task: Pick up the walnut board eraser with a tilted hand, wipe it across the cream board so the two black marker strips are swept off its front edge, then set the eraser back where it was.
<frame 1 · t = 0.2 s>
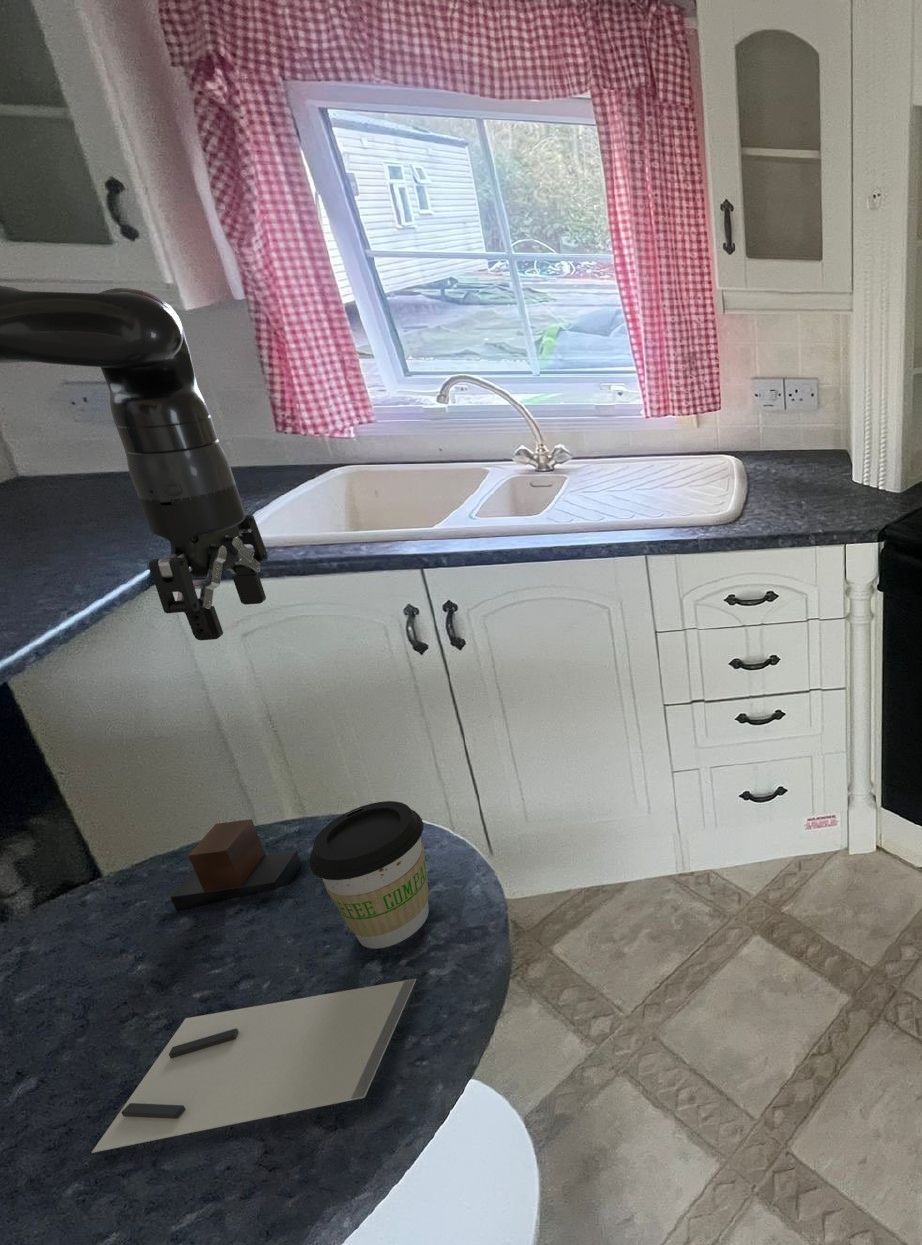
hand: (233, 619, 87), 32 cm above the countertop, tool pointing down, fingers open, 8 cm apart
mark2: (154, 1113, 67), point 1 cm above the countertop, touching board
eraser: (242, 888, 91), on the countertop
mark1: (205, 1045, 73), point 1 cm above the countertop, touching board
board: (275, 1066, 73), on the countertop
coffee cup: (397, 933, 87), on the countertop
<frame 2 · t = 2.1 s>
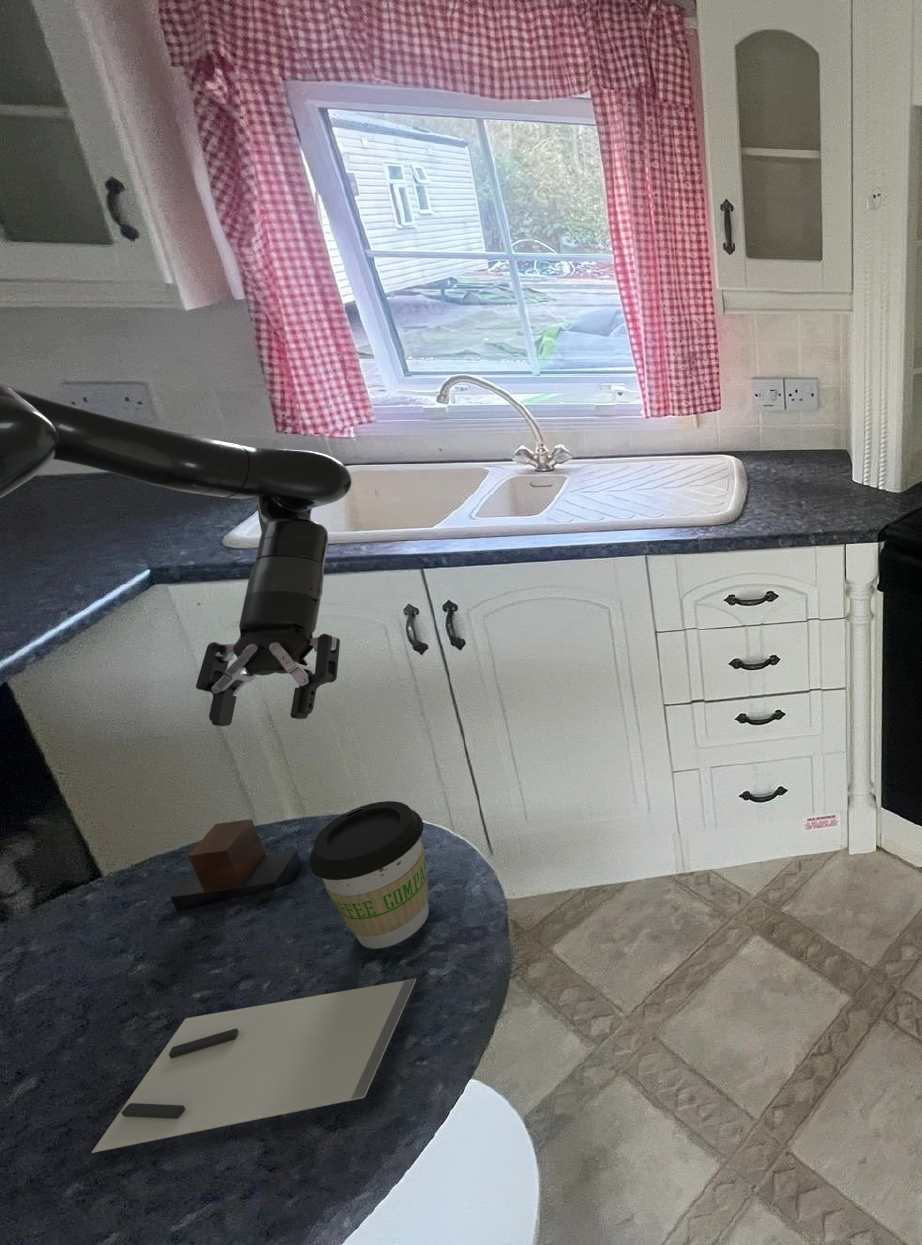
hand: (260, 721, 95), 16 cm above the countertop, tool tilted 45°, fingers open, 8 cm apart
nothing on the countertop moved.
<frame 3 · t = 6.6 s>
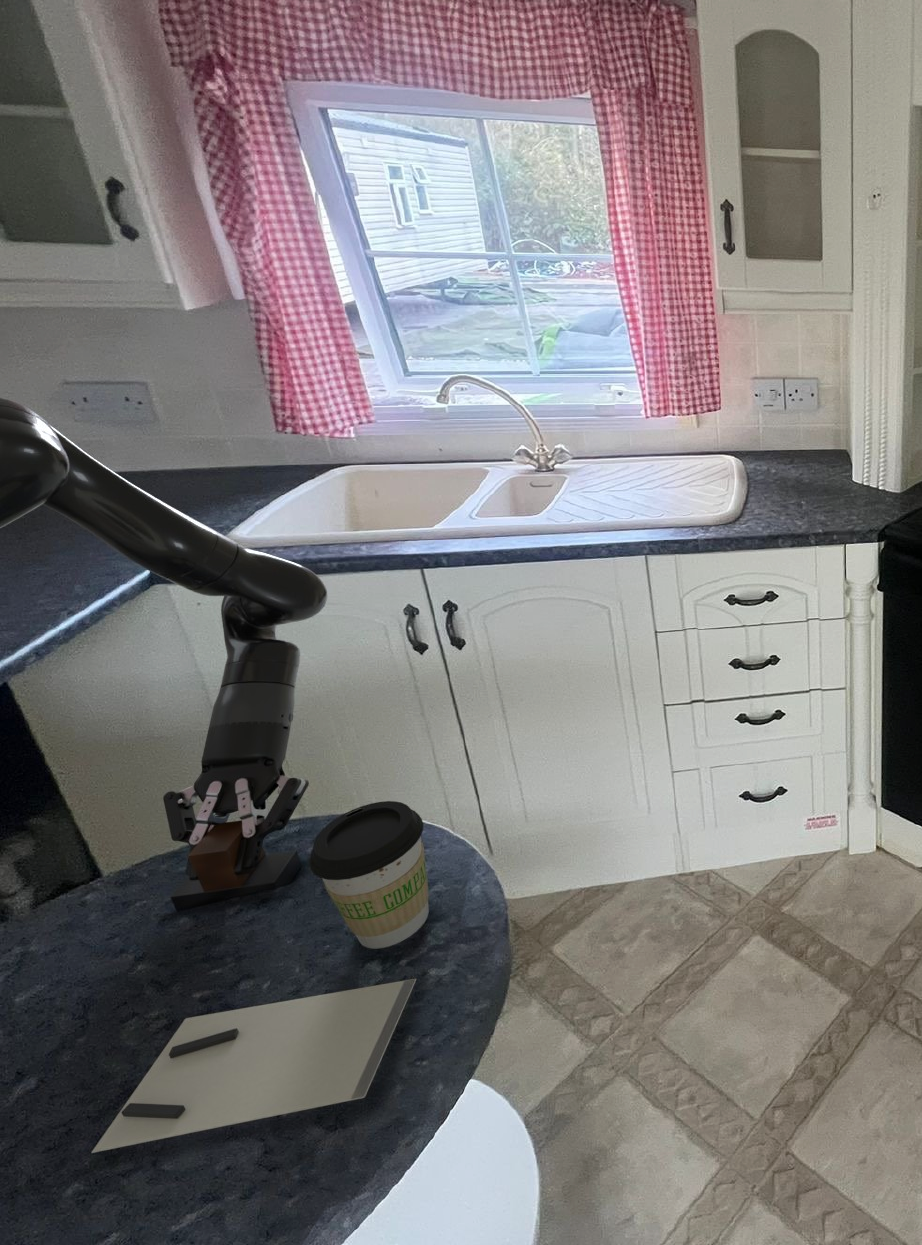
hand: (221, 875, 88), 4 cm above the countertop, tool tilted 45°, fingers closed on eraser, 3 cm apart
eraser: (242, 888, 91), on the countertop, touching gripper
everything else where it was.
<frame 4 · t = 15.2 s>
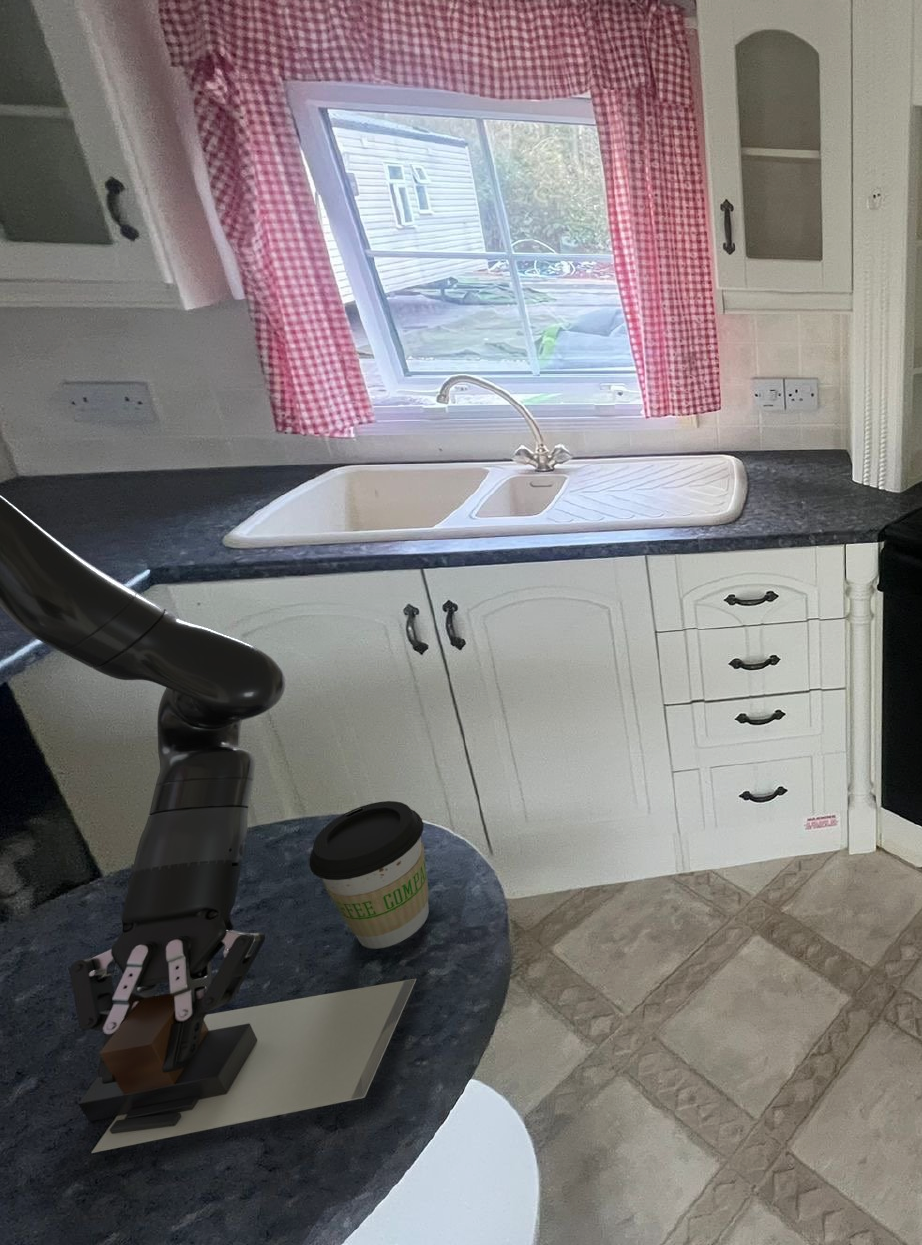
hand: (146, 1074, 67), 5 cm above the countertop, tool tilted 45°, fingers closed on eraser, 3 cm apart
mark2: (147, 1125, 67), point 1 cm above the countertop, touching board, mark1
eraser: (177, 1079, 70), point 2 cm above the countertop, touching gripper
mark1: (162, 1111, 68), point 2 cm above the countertop, touching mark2
everything else where it was.
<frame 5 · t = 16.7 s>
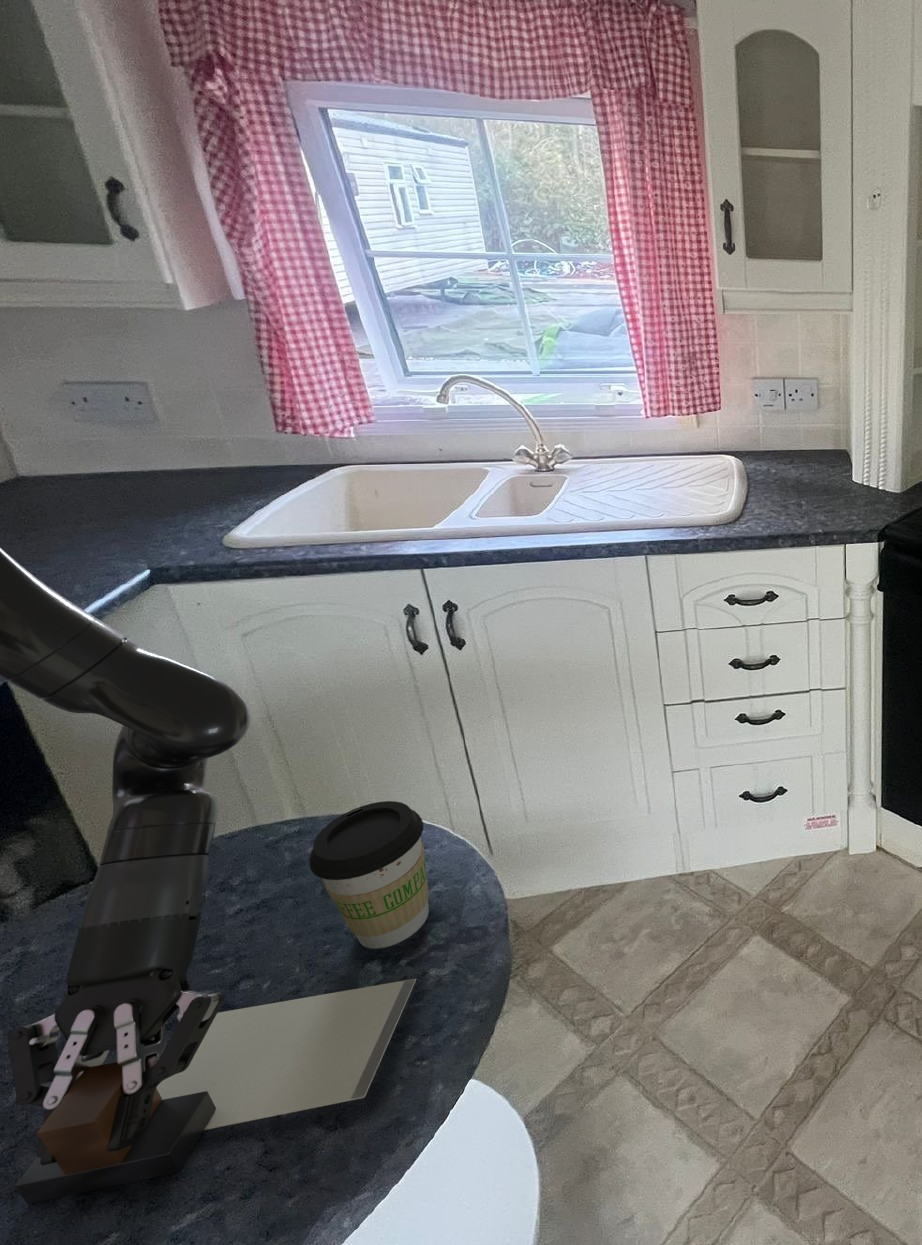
hand: (90, 1152, 61), 5 cm above the countertop, tool tilted 45°, fingers closed on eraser, 3 cm apart
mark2: (124, 1174, 64), point 1 cm above the countertop, tilted 180°
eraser: (127, 1154, 64), point 2 cm above the countertop, touching gripper
mark1: (121, 1187, 63), point 1 cm above the countertop, tilted 180°
everything else where it was.
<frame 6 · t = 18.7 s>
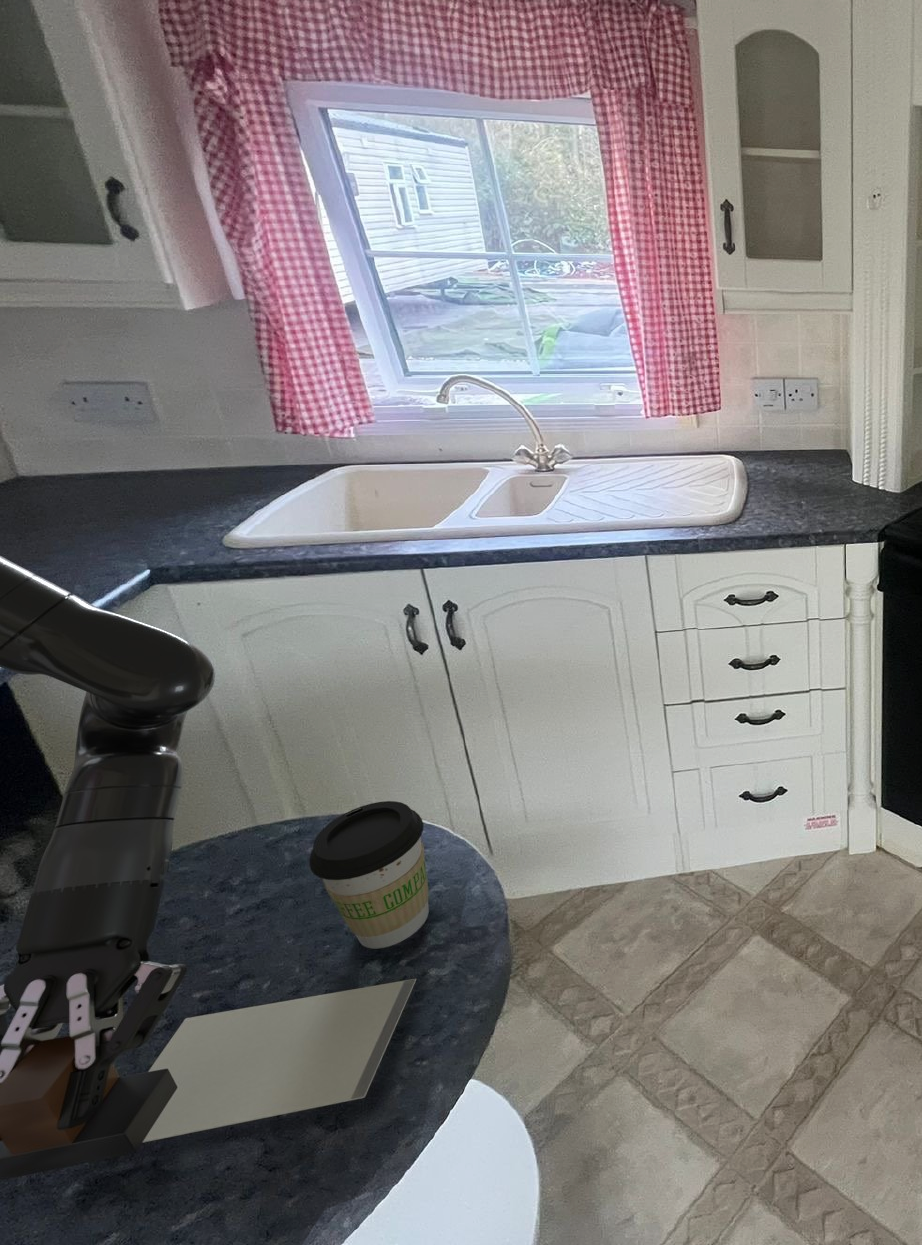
hand: (38, 1131, 57), 11 cm above the countertop, tool tilted 45°, fingers closed on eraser, 3 cm apart
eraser: (80, 1134, 61), point 7 cm above the countertop, touching gripper
everything else where it was.
when the fingers open (4 cm above the countertop, at t = 27.0 s): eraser stays where it is, on the countertop.
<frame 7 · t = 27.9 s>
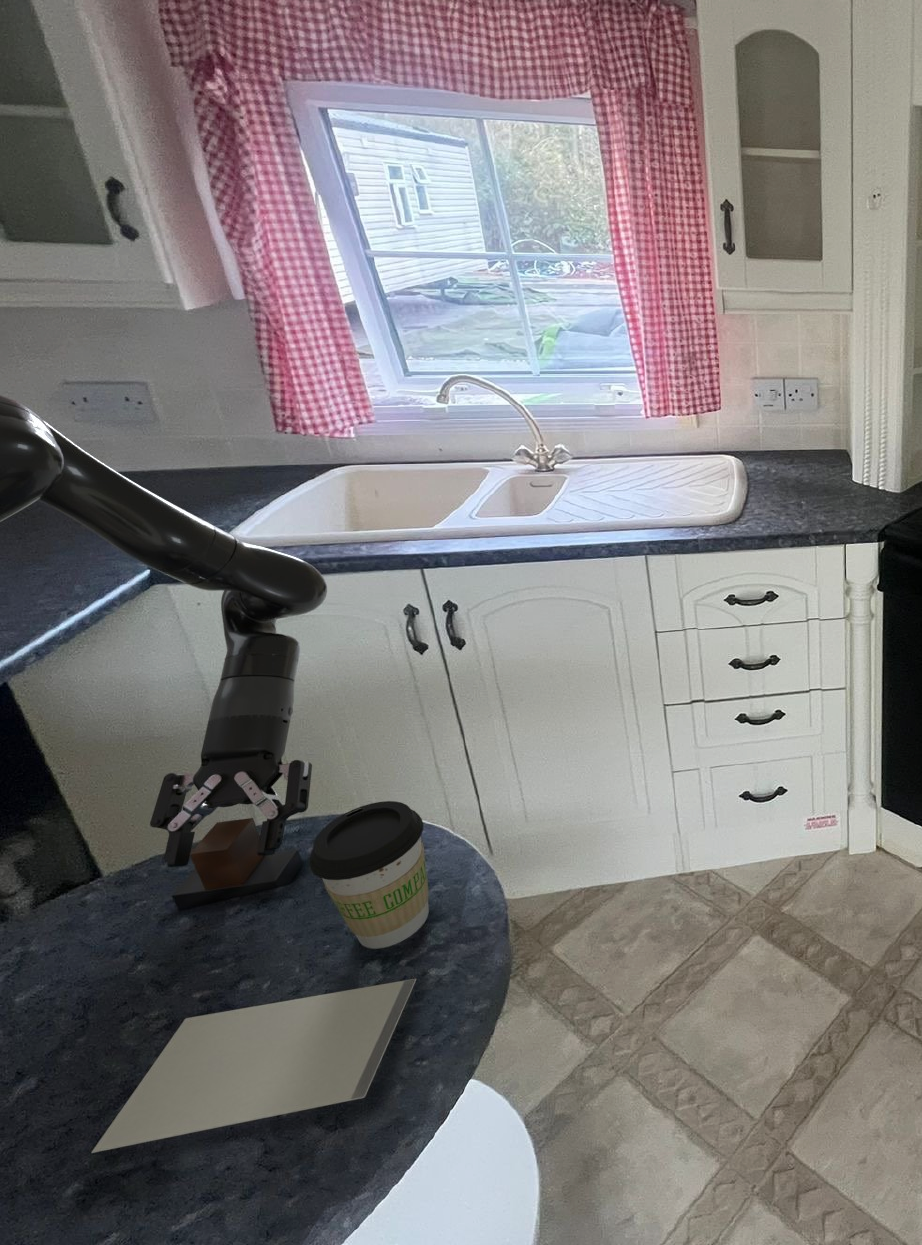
hand: (222, 860, 88), 5 cm above the countertop, tool tilted 45°, fingers open, 8 cm apart
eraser: (243, 887, 91), on the countertop
everything else where it was.
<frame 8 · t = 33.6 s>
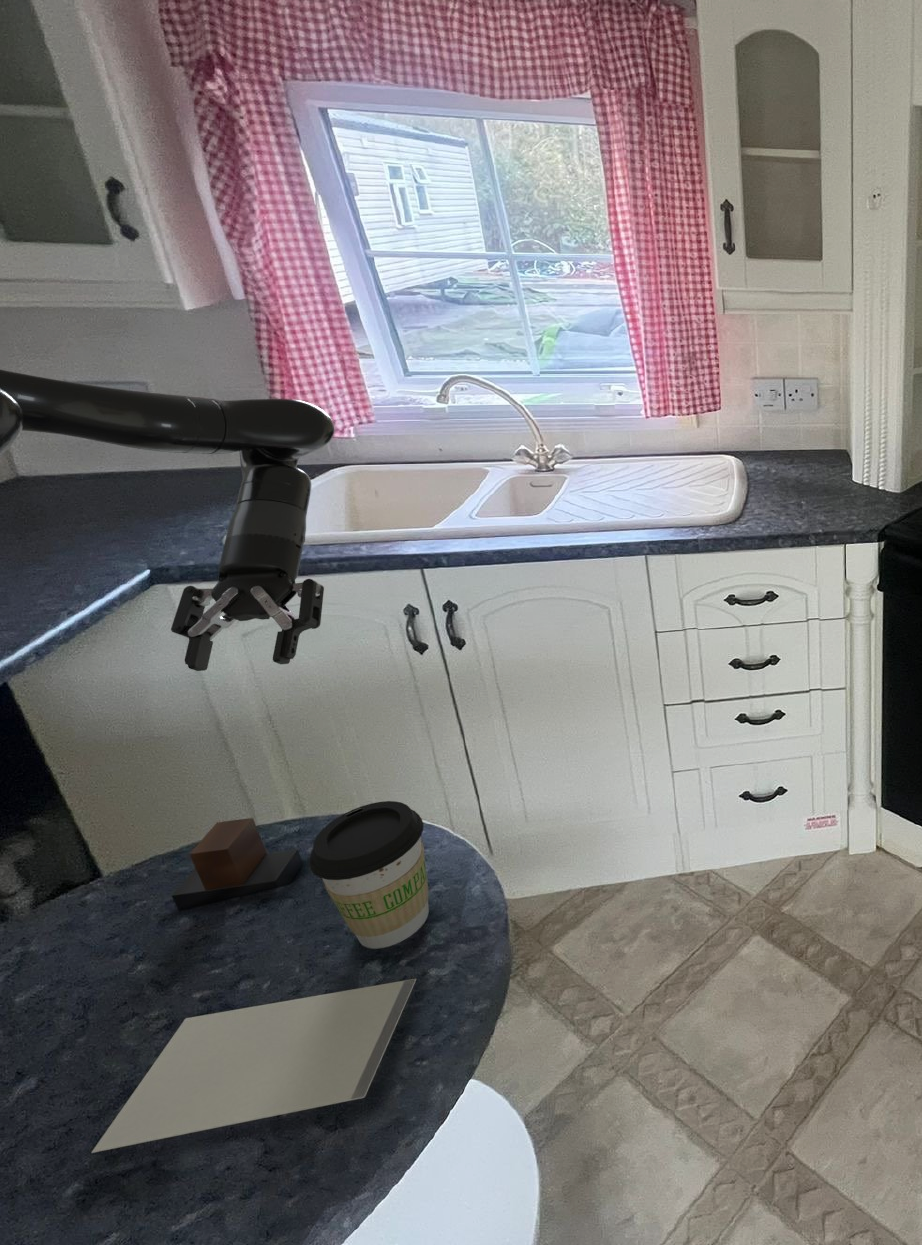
hand: (239, 666, 93), 24 cm above the countertop, tool tilted 45°, fingers open, 8 cm apart
nothing on the countertop moved.
at the end: mark1 touching countertop; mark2 touching countertop; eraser inside the target area (0.2 cm from its centre), on the countertop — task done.
